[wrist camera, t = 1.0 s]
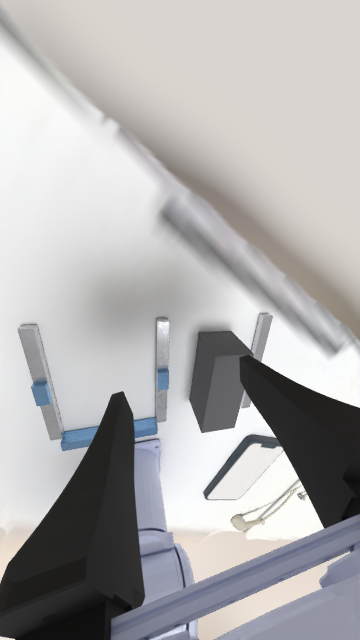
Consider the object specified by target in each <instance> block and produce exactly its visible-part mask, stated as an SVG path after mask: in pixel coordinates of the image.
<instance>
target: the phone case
mask: <svg viewBox="0 0 360 640" xmlns="http://www.w3.org/2000/svg"><path fill="white" fill-rule="evenodd" d="M283 451H284V450H283V448H282V446H281V444H280V443H279V441H278V439H277V438H271V437H265V436H258V435H249V436H247V437H246V438H244V440H243V441H242V442H241V443H240V445H239V446H238V447H237V449H236V450H235V451H234V453H233V454H232V455H231V456H230V458H229V459H228V460H227V462H226V463H225V464H224V466H223V467H222V468H221V470H220V471H219V472H218V473H217V475H216V476H215V477H214V479H213V480H212V481H211V483H210V484H209V485H208V487H207V488H206V489H205V491H204V496H205V499H206V500H237V499H239V498H241V497H242V496H243V495H244V494H245V493H246V492H247V490H248V489H249V488H250V487H251V486H252V485H253V484H254V483H255V482H256V480H257V479H258V478H259V477H260V476H261V475H262V474H263V473H264V472H265V471H266V469H267V468H268V467H269V466H270V465H271V464H272V463H273V462H274V461H275V459H276V458H277V457H278V456H279V455H280V454H281V453H282V452H283Z"/></svg>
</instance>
